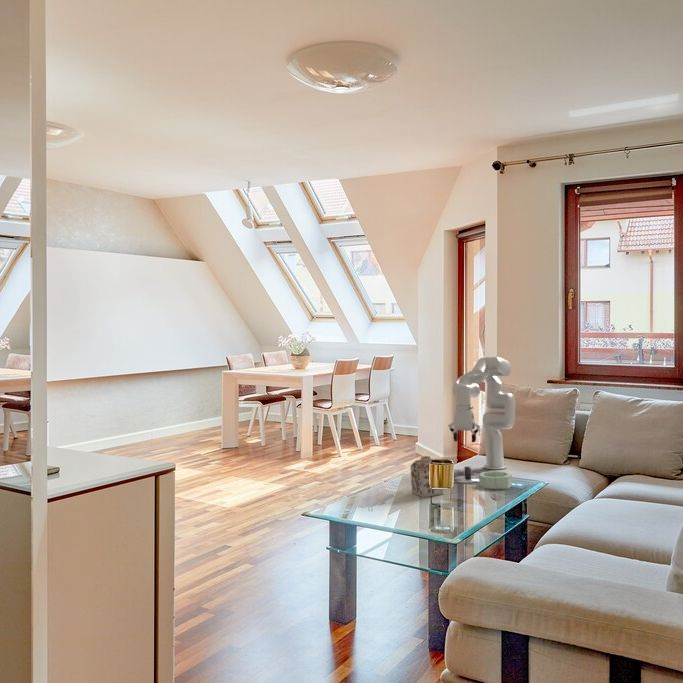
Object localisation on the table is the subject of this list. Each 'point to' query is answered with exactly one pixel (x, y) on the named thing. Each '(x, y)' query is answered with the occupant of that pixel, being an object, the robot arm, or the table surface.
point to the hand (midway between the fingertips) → (464, 441)
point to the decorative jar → (422, 478)
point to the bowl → (495, 480)
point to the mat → (470, 483)
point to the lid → (467, 477)
